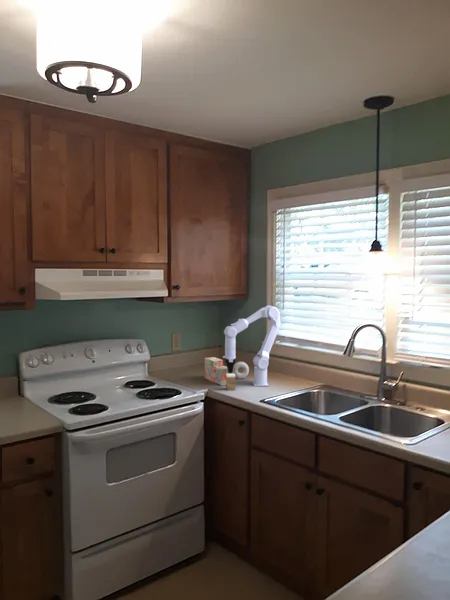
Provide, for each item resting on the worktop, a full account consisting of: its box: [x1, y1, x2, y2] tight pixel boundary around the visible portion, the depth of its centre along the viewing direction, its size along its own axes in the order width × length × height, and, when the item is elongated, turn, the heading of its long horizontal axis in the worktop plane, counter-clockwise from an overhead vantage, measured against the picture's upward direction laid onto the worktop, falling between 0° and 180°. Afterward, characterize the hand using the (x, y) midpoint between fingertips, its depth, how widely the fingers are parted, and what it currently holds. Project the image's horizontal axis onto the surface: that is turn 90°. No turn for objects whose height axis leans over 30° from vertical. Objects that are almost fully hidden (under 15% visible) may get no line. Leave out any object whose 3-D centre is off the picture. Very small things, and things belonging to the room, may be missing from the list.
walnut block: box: [225, 373, 236, 391], centre depth 272 cm, size 4×4×8 cm
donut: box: [232, 361, 250, 380], centre depth 297 cm, size 10×3×10 cm, turn 101°
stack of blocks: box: [204, 356, 232, 386], centre depth 290 cm, size 21×6×12 cm, turn 27°
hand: (230, 372), depth 279 cm, fingers closed
